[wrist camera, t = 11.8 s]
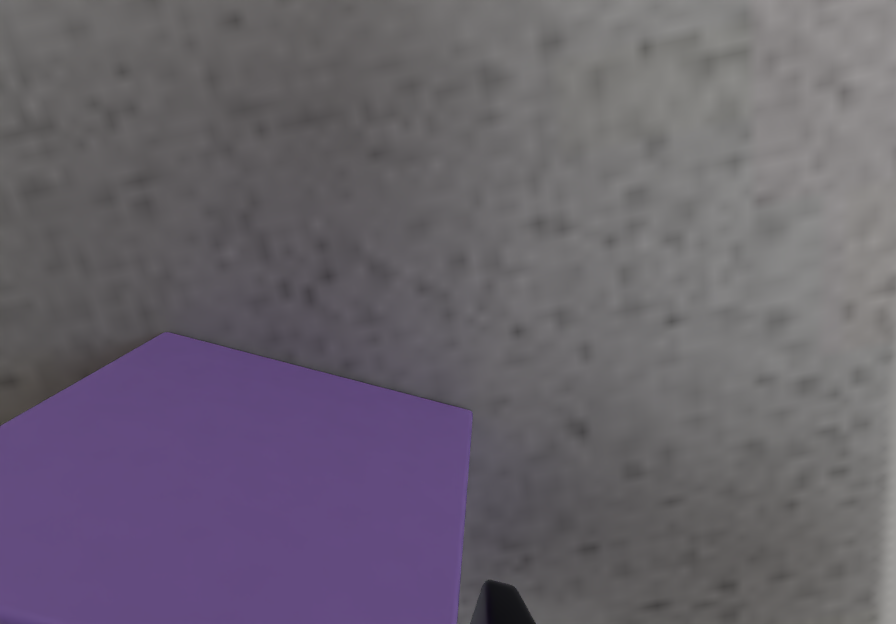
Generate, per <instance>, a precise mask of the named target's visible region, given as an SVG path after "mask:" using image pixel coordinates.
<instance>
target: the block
mask: <svg viewBox="0 0 896 624" xmlns="http://www.w3.org/2000/svg"><path fill="white" fill-rule="evenodd" d="M472 420H473V414H472V411H470V410H467V409H463V408H459V407H455V406H452V405H448V404H444V403H440V402H436V401H432V400H428V399H425V398H421V397H417V396H413V395H409V394H405V393H401V392H398V391H394V390H390V389H386V388H382V387H378V386H374V385H370V384H367V383H363V382H359V381H355V380H351V379H347V378H343V377H340V376H336V375H332V374H328V373H324V372H320V371H316V370H313V369H309V368H305V367H301V366H297V365H293V364H289V363H286V362H282V361H278V360H274V359H270V358H266V357H262V356H258V355H255V354H251V353H247V352H243V351H239V350H235V349H231V348H228V347H224V346H220V345H216V344H212V343H208V342H204V341H201V340H197V339H193V338H189V337H185V336H181V335H177V334H174V333H170V332H164V333H162V334H160V335H158V336H157V337H155V338H153V339H151V340H150V341H148V342H146V343H144V344H143V345H141V346H139V347H137V348H136V349H134V350H132V351H130V352H129V353H127V354H125V355H123V356H122V357H120V358H118V359H116V360H115V361H113V362H111V363H109V364H108V365H106V366H104V367H102V368H101V369H99V370H97V371H95V372H94V373H92V374H90V375H88V376H87V377H85V378H83V379H81V380H80V381H78V382H76V383H74V384H73V385H71V386H69V387H67V388H65V389H64V390H62V391H60V392H58V393H57V394H55V395H53V396H51V397H50V398H48V399H46V400H44V401H43V402H41V403H39V404H37V405H36V406H34V407H32V408H30V409H29V410H27V411H25V412H23V413H22V414H20V415H18V416H16V417H15V418H13V419H11V420H9V421H8V422H6V423H4V424H2V425H1V426H0V624H457V618H458V604H459V591H460V578H461V565H462V552H463V539H464V525H465V512H466V499H467V486H468V473H469V459H470V446H471V433H472Z"/></svg>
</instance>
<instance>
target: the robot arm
mask: <svg viewBox="0 0 896 624" xmlns="http://www.w3.org/2000/svg"><path fill="white" fill-rule="evenodd" d="M470 624H536V623H535V622H534V620H533V618H532V616H531V614H530V612H529V611H528V609H527V607H526V605H525V603H524V601H523V600H522V598H521V596H520V594H519V592H518V591H517V589H516V588H515V587H514V586H512V585H509V584H505V583H501V582H497V581H493V580H487V581H485V583H484V584H483V586H482V589H481V592H480V595H479V598H478V601H477V604H476V607H475V610H474V613H473V616H472V619H471V622H470Z"/></svg>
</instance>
